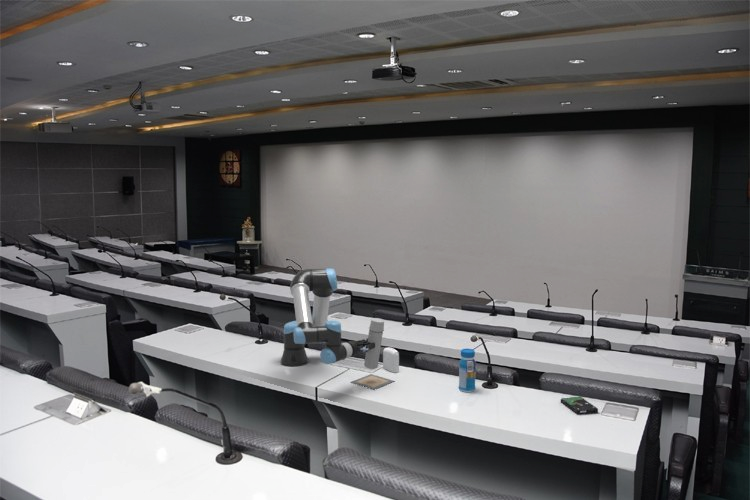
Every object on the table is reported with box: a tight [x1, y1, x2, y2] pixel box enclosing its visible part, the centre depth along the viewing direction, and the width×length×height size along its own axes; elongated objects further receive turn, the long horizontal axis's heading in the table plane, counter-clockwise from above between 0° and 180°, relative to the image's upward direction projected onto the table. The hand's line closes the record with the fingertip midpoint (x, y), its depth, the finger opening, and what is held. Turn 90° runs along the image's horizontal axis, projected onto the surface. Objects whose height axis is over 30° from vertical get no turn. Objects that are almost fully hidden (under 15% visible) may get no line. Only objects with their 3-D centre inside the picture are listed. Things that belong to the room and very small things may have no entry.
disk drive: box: [560, 396, 599, 416], centre depth 250 cm, size 10×3×15 cm
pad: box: [350, 373, 395, 391], centre depth 282 cm, size 16×16×1 cm
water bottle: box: [363, 317, 385, 370], centre depth 279 cm, size 9×8×25 cm
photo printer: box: [382, 347, 400, 373], centre depth 301 cm, size 10×4×12 cm, turn 39°
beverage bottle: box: [458, 348, 477, 393], centre depth 271 cm, size 8×8×20 cm
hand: (379, 340), depth 284 cm, fingers closed on water bottle
